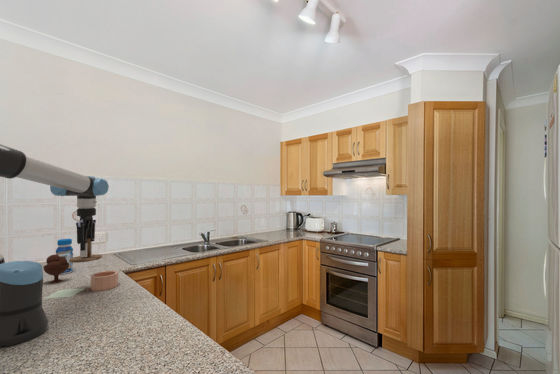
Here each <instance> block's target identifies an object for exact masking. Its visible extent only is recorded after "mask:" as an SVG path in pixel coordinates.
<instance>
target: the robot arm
mask: <svg viewBox="0 0 560 374" xmlns="http://www.w3.org/2000/svg"><path fill="white" fill-rule="evenodd" d="M0 178H4V179H9V180H11V179H15V178H18V179H22V180H26V181H30V182H34V183H38V184H43V185H47V186H50V187H49V190H50V192H51V194H52V195H54V196H57V197H59V196H60V197H73V196H75V197H76V207H77V209H76V216H77V217H79V222H78V221H77V222H75V225H76V243H77V244H78V245H79V244H80V245H79V249H80V250H79V256H80V257H87V243H86V240H87V238H91V255H93V242H95V238H96V236H95V235H96V233H95V232H96V223H97V219H94V218H93V217H95V216H96V215H97V208H96V206H97V197H98V196H104V195H106V194H107V193H108V191H109V183H108V181H107V180H106V179H104V178H98V177H97V178H96V177H95V176H91V175H90V176H89V175H83V174H80V173H78V172H74V171H71V170H69V169H66V168H62V167H60V166H56V165H54V164H50V163H47V162H44V161H41V160H38V159H35V158H31V157H29V156H27V155H26V153H24V152H23V151H21V150H18V149H15V148H12V147H10V146H6V145H3V144H0ZM43 270H44V269H43V266H42V263H40V262H39V261H38V262H37V261H34V260H13V261H8V262H7V261H5V257H4V255H2V254H0V348H3V347H2V346H6V347H9V345H11V346H15V345H17V344H21V343H24V342H26V341H30V340H32V339H34V338H37V337H38V336H40V335H42V334H44V333H45V332H46V331H48V328H49V319H48V317H47V315H46V313H45V310H44V308H43V303H42V302H43V284H44V283H43V282H44V272H43ZM14 344H15V345H14Z"/></svg>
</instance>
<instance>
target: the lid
mask: <svg viewBox="0 0 560 374" xmlns="http://www.w3.org/2000/svg"><path fill="white" fill-rule="evenodd" d="M86 243H87V257H80V255H78V256H77V255H76V256H73V258H70V259H69V262H72V263H74V264H75V263H76V264H77V263H88V262H93V261H97V260H100V259H102V258H103V254H98V253H97V254H96V253H95V254H93V253H92V255H91V238H87V240H86Z"/></svg>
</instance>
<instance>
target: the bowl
mask: <svg viewBox="0 0 560 374" xmlns="http://www.w3.org/2000/svg"><path fill="white" fill-rule="evenodd" d="M118 285H119V271H117V270H104V271H99V272H96V273H93V274H91V275H90V291H92V292H102V291H107V290H111V289H114V288H117V287H118Z"/></svg>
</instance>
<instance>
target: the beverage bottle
mask: <svg viewBox="0 0 560 374" xmlns="http://www.w3.org/2000/svg"><path fill="white" fill-rule="evenodd" d="M72 241H73V239H72V238H61V239H58V240H57V246H58V247H57V248H56V249H55V255H59V256H62V257H64V258H66V259H67V262H69V259H70V258H73V257H74V252H73V251H74V248H73V247H72V243H73V242H72ZM69 263H70V264H69V267H68V269H67V270H66V271H65V272H63V273H61V274H60V275H66V274H70V273H72V272H73V270H74V269H73V267H74V264H73V263H72V262H69Z"/></svg>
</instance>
